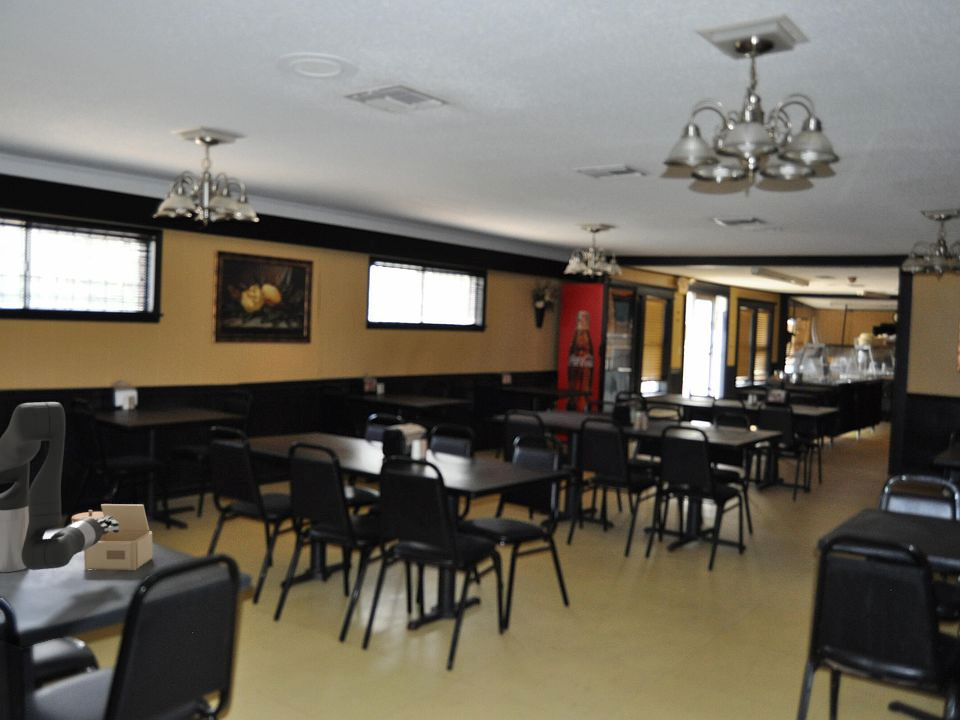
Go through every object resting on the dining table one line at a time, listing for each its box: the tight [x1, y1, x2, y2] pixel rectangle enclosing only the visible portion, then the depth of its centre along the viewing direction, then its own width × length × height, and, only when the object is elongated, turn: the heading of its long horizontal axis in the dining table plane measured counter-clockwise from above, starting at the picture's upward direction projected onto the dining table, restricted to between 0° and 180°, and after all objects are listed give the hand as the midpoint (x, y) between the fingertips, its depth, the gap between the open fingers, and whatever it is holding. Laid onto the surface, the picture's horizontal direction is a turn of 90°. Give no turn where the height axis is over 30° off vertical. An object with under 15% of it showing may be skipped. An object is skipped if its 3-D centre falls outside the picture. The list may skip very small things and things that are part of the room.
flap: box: [100, 503, 150, 531], centre depth 247 cm, size 12×1×9 cm, turn 89°
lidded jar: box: [71, 509, 104, 524], centre depth 269 cm, size 11×11×9 cm
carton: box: [83, 530, 153, 571], centre depth 243 cm, size 15×13×8 cm
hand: (110, 519), depth 238 cm, fingers closed
